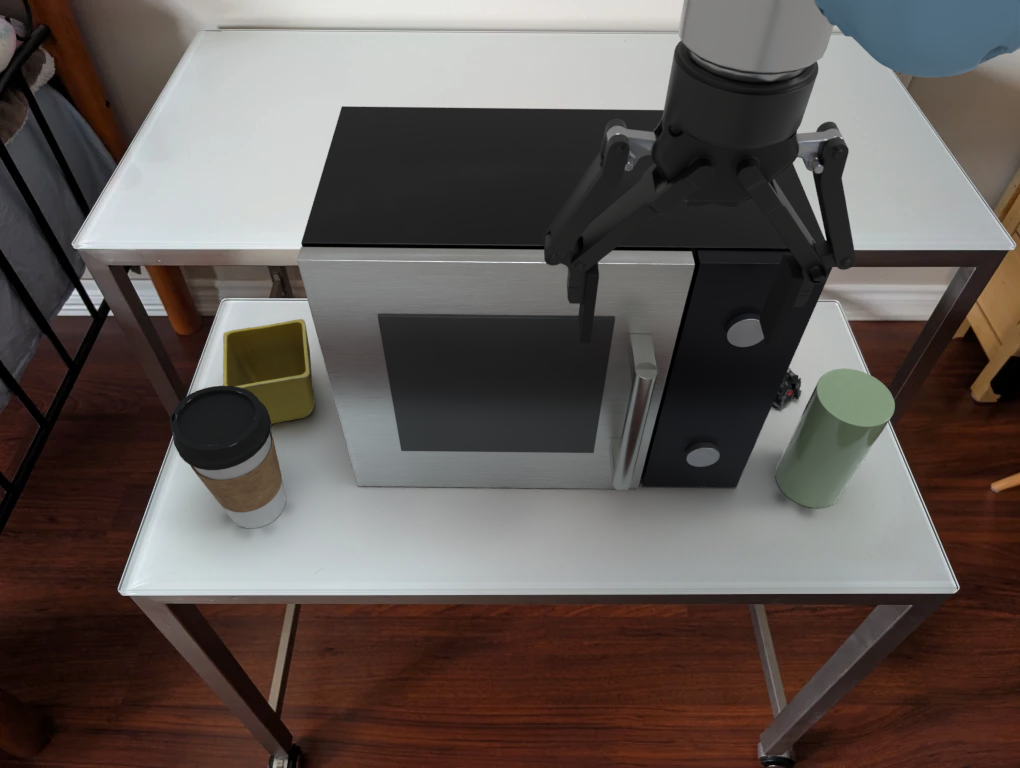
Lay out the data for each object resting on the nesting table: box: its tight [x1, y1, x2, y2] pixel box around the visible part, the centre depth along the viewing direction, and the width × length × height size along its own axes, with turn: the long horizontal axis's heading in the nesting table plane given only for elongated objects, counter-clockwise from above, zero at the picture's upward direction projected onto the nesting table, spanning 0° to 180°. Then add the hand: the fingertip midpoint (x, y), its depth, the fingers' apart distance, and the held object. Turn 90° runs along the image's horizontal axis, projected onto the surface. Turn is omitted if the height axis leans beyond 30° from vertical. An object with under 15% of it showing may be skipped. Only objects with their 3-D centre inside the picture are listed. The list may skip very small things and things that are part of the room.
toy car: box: [773, 367, 802, 410], centre depth 88 cm, size 6×12×4 cm, turn 1°
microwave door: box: [296, 246, 695, 492], centre depth 66 cm, size 6×30×31 cm, turn 90°
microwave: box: [300, 105, 834, 489], centre depth 74 cm, size 22×40×31 cm, turn 90°
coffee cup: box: [169, 385, 287, 529], centre depth 72 cm, size 8×8×15 cm
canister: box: [774, 368, 896, 509], centre depth 74 cm, size 7×7×14 cm
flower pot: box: [222, 318, 315, 425], centre depth 82 cm, size 9×9×9 cm
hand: (675, 332), depth 55 cm, fingers open, 13 cm apart
